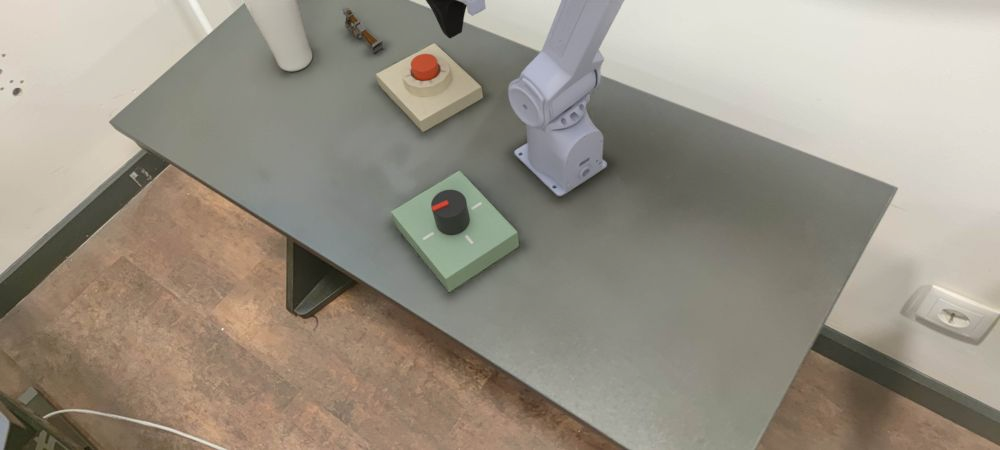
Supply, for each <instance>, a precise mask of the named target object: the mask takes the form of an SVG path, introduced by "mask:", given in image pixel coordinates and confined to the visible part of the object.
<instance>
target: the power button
mask: <svg viewBox="0 0 1000 450" xmlns="http://www.w3.org/2000/svg"><path fill="white" fill-rule="evenodd" d="M411 68H412V73H413V76H414V77H415V78H416V79H417V80H419V81H428V80H432V79H433V78H435V77H436V76H437V75H438V73H439V68H438V63H437V59H436V58H435V57H434V56H433V55H431V54H421V55H418V56H416V57H415V58H413V60H412V61H411Z"/></svg>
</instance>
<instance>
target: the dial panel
mask: <svg viewBox="0 0 1000 450" xmlns="http://www.w3.org/2000/svg"><path fill="white" fill-rule="evenodd" d="M444 190H457V191H459V192H461V193H462V194H463V195H464V196H465V198H466V202H467V207H468V212H469V217H470V222H469V225H468V227H467V228H466V229H465V230H464V231H463V232H461V233H459V234H456V235H446V234H444V233H442V232H440V231H439V230H438V228H437V226H436V223H435V219H434V216H433V212H432V208H431V203H432V200H433V198H434V197H435V196H436V195H437V194H438V193H439V192H441V191H444ZM390 214H391V216H392V219H393V222H394V225H395V227H396V228H397V230H398V231H399V233H401V234H402V236H403V237H404V238H405V240H406V241H407V242H408V243H409V245H410V246H411V247H412V249H414V251H415V252H416V253H417V254H418V256H419V257H420V258H421V259H422V260H423V262H424V263H425V264H426V266H427V267H428V268H429V269H430V270H431V272H432V273H433V275H435V277H436V278H437V279H438V280H439V282H440V283H441V284H442V286H444V288H445V289H446V290H447V292H448V293H450V292H452V291H454V290H455V289H456V288H457V289H458V287H460V286H461V285H463V284H464V283H465V282H467V281H469V280H470V279H471V278H473V277H475V276H477V275H478V274H479V273H481V272H482V271H483V270H486V269H487V268H489V267H490V266H492V265H493V264H494V263H496V262H498V261H499V260H501V259H502V258H504V257H505V256H507V255H508V254H510V253H511V252H513V251H514V250H516V249H517V248H519V247H520V244H519V243H520V242H519V234H518V233H519V232H518V231H517V230H516V229H515V228H514V226H513V225H512V224H511V223H510V222H509V221H508V220H507V219H506V218H505V217H504V216H503V215H502V214H501V213H500V211H498V209H497V208H495V207H494V205H493V204H492V203H491V202H490V201H489V200H488V199H487V198H486V196H484V194H482V192H480V191H479V189H478V188H477V187H476V186H475V185H474V184H473V183H472V182H471V181H470V180H469V179H468V177H467V176H465V175H464V173H463V172H462V171H461V170H458V171H456V172H455V173H453V174H451V175H449V176H448V177H446V178H445V179H443V180H441V181H439V182H437V183H436V184H435V185H432V186H431V187H429V188H428V189H426V190H425V191H423V192H420V193H419V194H417V195H416V196H414V197H413V198H411V199H409V200H408V201H406V202H404V203H403V204H401V205H399V206H398V207H395V209H393V210H391V211H390Z"/></svg>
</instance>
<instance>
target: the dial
mask: <svg viewBox="0 0 1000 450" xmlns="http://www.w3.org/2000/svg"><path fill="white" fill-rule="evenodd" d="M431 208H432V212H433V216H434V219H435V223H436V226H437V228H438V230H439V231H440V232H442V233H444V234H446V235H456V234H459V233H461V232H463V231H464V230H465V229H466V228H467V227H468V225H469V222H470V217H469V212H468V207H467V202H466V198H465V196H464V195H463V194H462V193H461V192H459V191H457V190H444V191H441V192H439V193H438V194H437V195H436V196H435V197H434V198H433V200H432V203H431Z"/></svg>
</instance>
